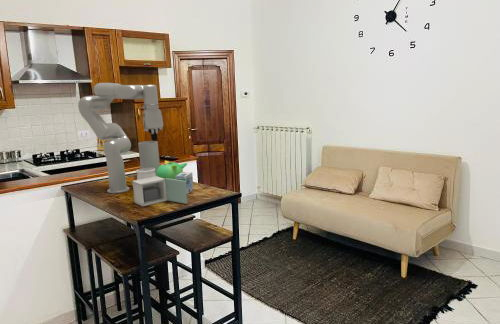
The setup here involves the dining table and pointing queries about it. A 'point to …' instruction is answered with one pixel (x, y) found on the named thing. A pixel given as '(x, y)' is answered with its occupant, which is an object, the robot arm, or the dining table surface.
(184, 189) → the door
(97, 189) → the dining table surface
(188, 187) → the light bulb box
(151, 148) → the cylinder vase
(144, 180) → the housing
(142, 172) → the jar
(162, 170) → the toy bird
